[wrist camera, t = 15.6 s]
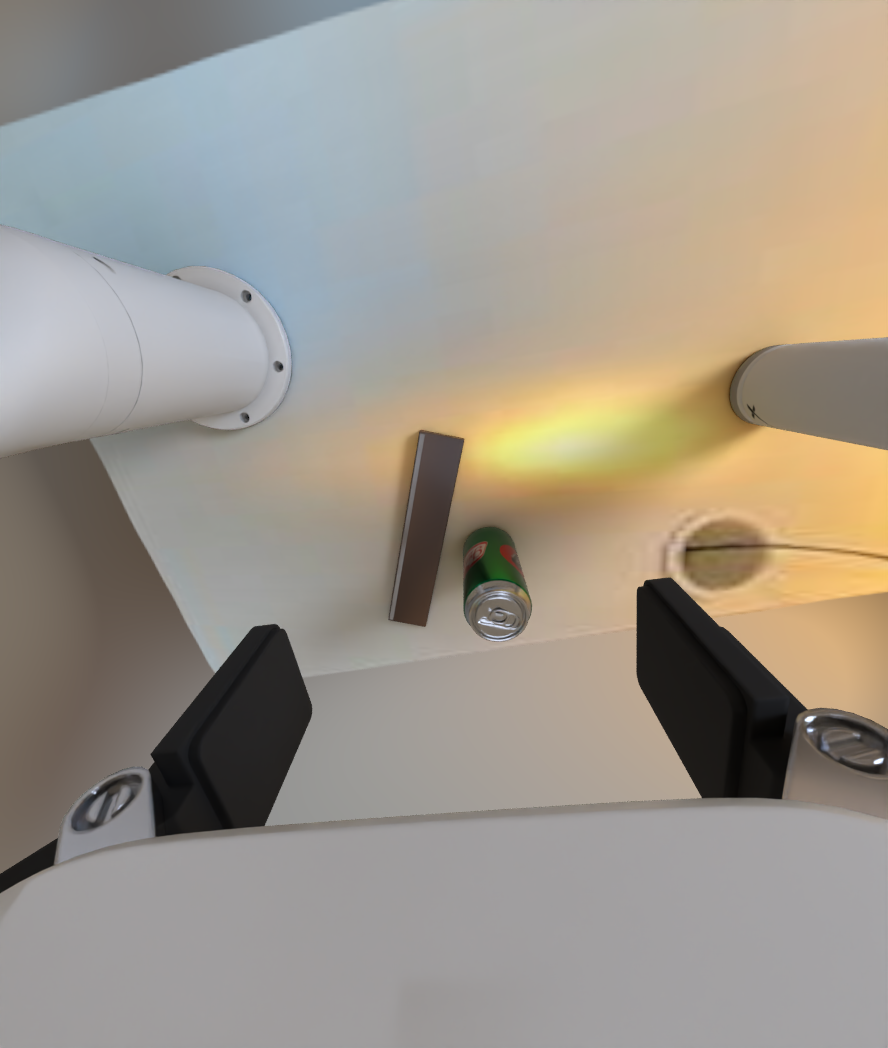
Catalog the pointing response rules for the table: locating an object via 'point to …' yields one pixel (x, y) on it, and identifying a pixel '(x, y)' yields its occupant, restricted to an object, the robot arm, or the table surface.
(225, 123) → the table surface
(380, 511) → the table surface
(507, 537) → the soda can
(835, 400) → the travel mug
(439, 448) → the ruler
